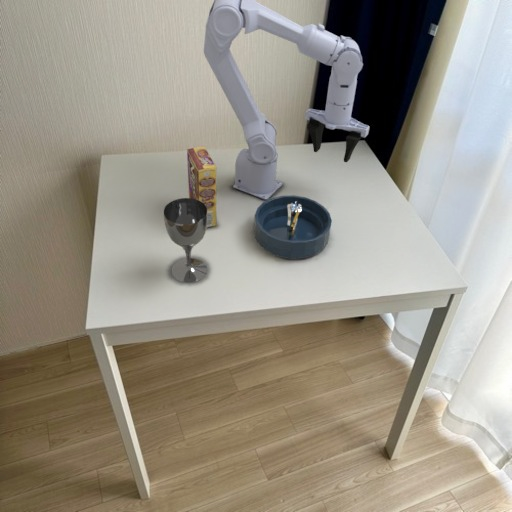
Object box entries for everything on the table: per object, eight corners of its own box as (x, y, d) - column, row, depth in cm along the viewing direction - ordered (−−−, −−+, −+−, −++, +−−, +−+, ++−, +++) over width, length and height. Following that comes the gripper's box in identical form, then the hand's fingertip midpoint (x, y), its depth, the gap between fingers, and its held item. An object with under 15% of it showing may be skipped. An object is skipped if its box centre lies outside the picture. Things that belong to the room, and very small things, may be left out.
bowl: (240, 242, 112) (240, 224, 108) (277, 204, 122) (278, 187, 119) (307, 271, 106) (310, 252, 102) (340, 229, 116) (343, 211, 113)
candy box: (218, 226, 116) (217, 167, 105) (199, 229, 114) (196, 170, 104) (207, 203, 122) (205, 145, 111) (189, 206, 121) (185, 148, 110)
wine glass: (170, 257, 107) (164, 198, 97) (209, 256, 108) (207, 197, 98) (168, 285, 102) (162, 224, 91) (209, 283, 102) (207, 224, 92)
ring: (294, 245, 111) (297, 215, 105) (279, 241, 111) (282, 211, 106) (303, 226, 116) (307, 197, 110) (289, 223, 116) (292, 193, 111)
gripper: (301, 97, 112) (296, 153, 121) (364, 116, 106) (353, 172, 115) (316, 86, 116) (309, 140, 125) (377, 103, 111) (365, 158, 120)
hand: (331, 155), depth 121 cm, fingers open, 7 cm apart
